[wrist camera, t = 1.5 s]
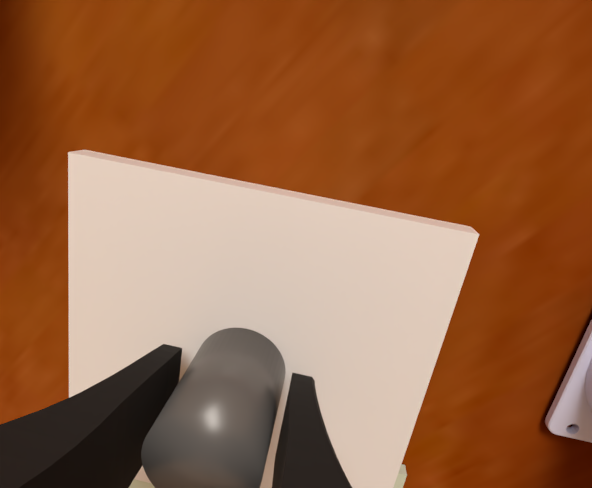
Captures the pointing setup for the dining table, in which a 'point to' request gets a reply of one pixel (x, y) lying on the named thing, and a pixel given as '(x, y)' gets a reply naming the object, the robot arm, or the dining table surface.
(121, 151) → the dining table surface
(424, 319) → the cover
